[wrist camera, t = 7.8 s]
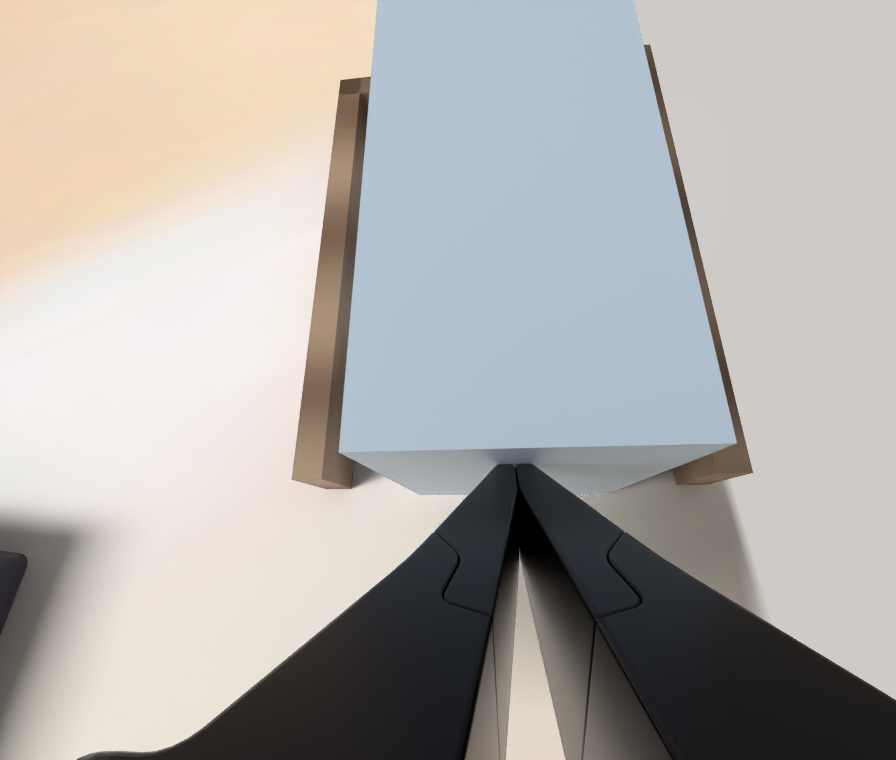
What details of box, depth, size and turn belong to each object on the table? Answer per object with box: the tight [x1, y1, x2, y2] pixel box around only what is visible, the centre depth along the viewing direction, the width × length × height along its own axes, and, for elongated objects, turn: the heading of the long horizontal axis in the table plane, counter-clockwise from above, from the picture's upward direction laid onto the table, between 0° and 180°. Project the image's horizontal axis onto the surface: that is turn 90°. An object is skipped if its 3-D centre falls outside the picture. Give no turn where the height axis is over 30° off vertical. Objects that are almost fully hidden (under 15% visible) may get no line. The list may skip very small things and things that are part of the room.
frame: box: [292, 45, 753, 489], centre depth 18 cm, size 18×14×3 cm
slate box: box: [339, 0, 737, 495], centre depth 15 cm, size 16×7×9 cm, turn 0°
